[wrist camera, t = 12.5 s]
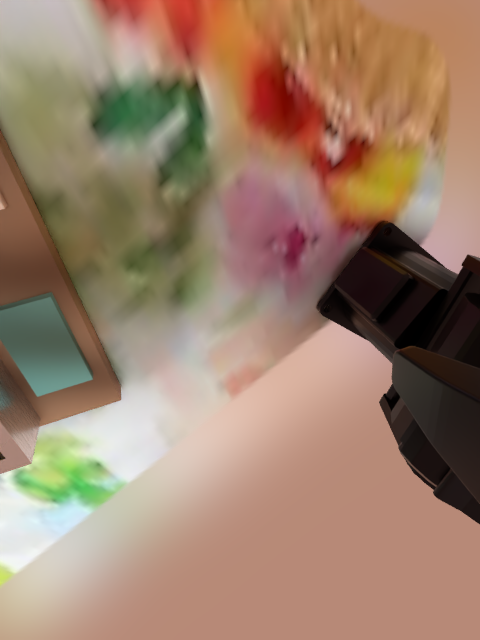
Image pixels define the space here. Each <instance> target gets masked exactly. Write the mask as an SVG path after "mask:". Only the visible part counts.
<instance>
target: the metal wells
mask: <svg viewBox="0 0 480 640" xmlns="http://www.w3.org/2000/svg"><path fill="white" fill-rule="evenodd" d="M40 420H41V418H40V417H39V415H38V414H37V412H36V411H35V409H34V408H33V406H32V405H31V403H30V402H29V400H28V399H27V397H26V396H25V394H24V393H23V391H22V390H21V388H20V387H19V385H18V384H17V382H16V381H15V379H14V378H13V376H12V375H11V373H10V372H9V370H8V369H7V367H6V366H5V364H4V363H3V361H2V360H1V358H0V474H2V473H4V472H7V471H10V470H13V469H16V468H19V467H22V466H25V465H28V464H31V463H32V459H33V454H34V450H35V445H36V440H37V435H38V430H39V425H40Z"/></svg>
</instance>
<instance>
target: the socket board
mask: <svg viewBox="0 0 480 640" xmlns="http://www.w3.org/2000/svg"><path fill="white" fill-rule="evenodd" d="M0 358H1V360H2V361H3V363H4V364H5V366H6V367H7V369H8V370H9V372H10V373H11V375H12V376H13V378H14V379H15V381H16V382H17V384H18V385H19V387H20V388H21V390H22V391H23V393H24V394H25V396H26V397H27V399H28V400H29V402H30V403H31V405H32V406H33V408H34V409H35V411H36V412H37V414H38V415H39V417H40V418H41V420H40V425H39V427H40V426H43V425H46V424H49V423H52V422H55V421H58V420H61V419H64V418H67V417H70V416H73V415H76V414H79V413H83V412H86V411H89V410H92V409H95V408H98V407H101V406H104V405H107V404H110V403H113V402H116V401H119V400H121V386H120V384H119V382H118V380H117V377H116V375H115V373H114V371H113V369H112V367H111V365H110V362H109V360H108V358H107V356H106V354H105V352H104V350H103V348H102V345H101V343H100V341H99V339H98V337H97V335H96V333H95V330H94V328H93V326H92V324H91V322H90V320H89V318H88V316H87V313H86V311H85V309H84V307H83V305H82V303H81V301H80V298H79V296H78V294H77V292H76V290H75V288H74V286H73V284H72V281H71V279H70V277H69V275H68V273H67V271H66V269H65V266H64V264H63V262H62V260H61V258H60V256H59V254H58V252H57V249H56V247H55V245H54V243H53V241H52V239H51V237H50V234H49V232H48V230H47V228H46V226H45V224H44V222H43V220H42V217H41V215H40V213H39V211H38V209H37V207H36V205H35V202H34V200H33V198H32V196H31V194H30V192H29V190H28V188H27V185H26V183H25V181H24V179H23V177H22V175H21V173H20V170H19V168H18V166H17V164H16V162H15V160H14V158H13V156H12V153H11V151H10V149H9V147H8V145H7V143H6V141H5V138H4V136H3V134H2V132H1V130H0Z"/></svg>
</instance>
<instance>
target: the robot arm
mask: <svg viewBox="0 0 480 640" xmlns="http://www.w3.org/2000/svg"><path fill="white" fill-rule="evenodd" d="M386 228H387V231H386V232H385V233H384V230H385V229H386ZM462 266H463V268H462V269H461V271H460V273H459V274H456V273H454V272H452V271H450V270H449V269H447V268H445V267H444V266H443V265H442V264H441V263H440V262H438V261H437V260H436V259H435V258H434V257H432V256H431V255H430V254H429V253H428V252H426V251H425V250H424V249H423V248H422V247H420V246H419V245H418V244H417V243H416V242H414V241H413V240H412V239H411V238H410V237H408V236H407V235H406V234H405V233H404V232H402V231H401V230H400V229H399V228H398V227H396V226H395V225H394V224H392V223H390V222H388V221H383V222H381V223H380V224H379V225H378V226H377V227H376V229H375V230H374V231H373V233H372V234H371V235H370V237H369V238H368V239H367V241H366V242H365V243H364V244H363V246H362V247H361V248H360V250H359V251H358V252H357V254H356V255H355V256H354V258H353V259H352V260H351V261H350V263H349V264H348V265H347V267H346V268H345V269H344V271H343V272H342V273H341V275H340V276H339V277H338V279H337V280H336V281H335V282H334V284H333V285H332V286H331V288H330V289H329V290H328V292H327V293H326V294H325V296H324V297H323V298H322V299H321V301H320V302H319V304H318V306H317V309H318V311H319V312H320V313H321V314H322V315H323V316H325V317H326V318H328V319H330V320H332V321H334V322H335V323H337V324H339V325H341V326H343V327H345V328H346V329H348V330H350V331H352V332H353V333H355V334H357V335H359V336H361V337H363V338H364V339H366V340H368V341H370V342H371V343H372V344H373V345H374V346H375V347H376V348H377V349H378V350H379V351H380V352H381V353H382V354H383V355H384V356H385V357H386V358H387V359H388V360H389V361H390V362H391V363H392V364H393V366H392V383H393V384H392V385H391V387H390V389H389V390H388V392H387V393H386V394H384V395H383V397H382V398H381V400H380V402H379V403H380V406H381V408H382V410H383V412H384V414H385V417H386V419H387V421H388V423H389V425H390V428H391V430H392V432H393V434H394V437H395V439H396V441H397V443H398V445H399V450H400V452H401V454H402V456H403V457H404V459H405V460H406V462H407V464H408V465H409V466H410V468H411V469H412V471H413V473H414V474H415V475H417V476H418V477H419V478H420V479H421V480H422V481H423V482H425V483H426V484H427V485H428V486H430V487H431V488H432V489H433V490H434V492H433V493H434V495H435V496H436V497H437V498H438V499H440V500H442V501H443V502H445V503H447V504H449V505H451V506H452V507H455V508H456V509H458V510H460V511H462V512H463V513H464V514H466V515H467V516H469V517H470V518H471V519H473V520H475V521H476V522H477V523H479V524H480V258H478V257H475V256H471V255H467V257H466V258H465V260H464V262H463V263H462ZM327 305H328V307H327V308H326V309H324V308H325V307H326V306H327Z"/></svg>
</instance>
